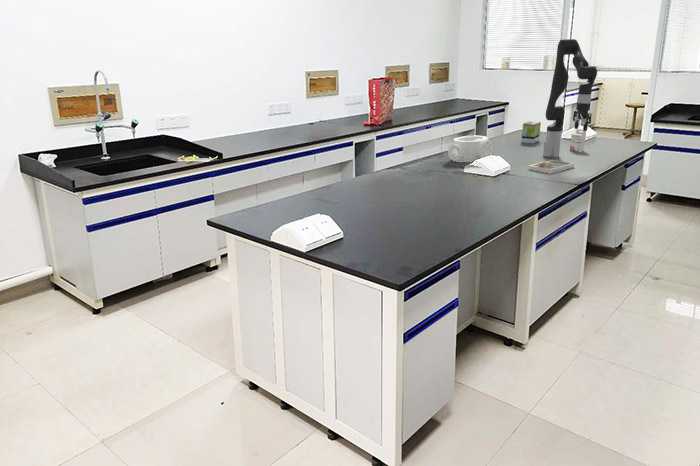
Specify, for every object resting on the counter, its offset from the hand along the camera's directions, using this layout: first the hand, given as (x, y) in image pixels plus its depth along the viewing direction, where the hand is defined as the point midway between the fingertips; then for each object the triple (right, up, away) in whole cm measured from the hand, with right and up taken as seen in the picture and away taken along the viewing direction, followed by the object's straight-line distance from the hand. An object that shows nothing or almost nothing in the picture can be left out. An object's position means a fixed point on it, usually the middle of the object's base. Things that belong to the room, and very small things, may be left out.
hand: (580, 129), depth 325 cm
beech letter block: (-21, -24, +3) cm, 32 cm away
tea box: (+1, +9, +95) cm, 95 cm away
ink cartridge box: (+22, -4, +57) cm, 61 cm away
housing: (-56, -13, +39) cm, 70 cm away
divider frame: (-15, -22, +8) cm, 28 cm away
